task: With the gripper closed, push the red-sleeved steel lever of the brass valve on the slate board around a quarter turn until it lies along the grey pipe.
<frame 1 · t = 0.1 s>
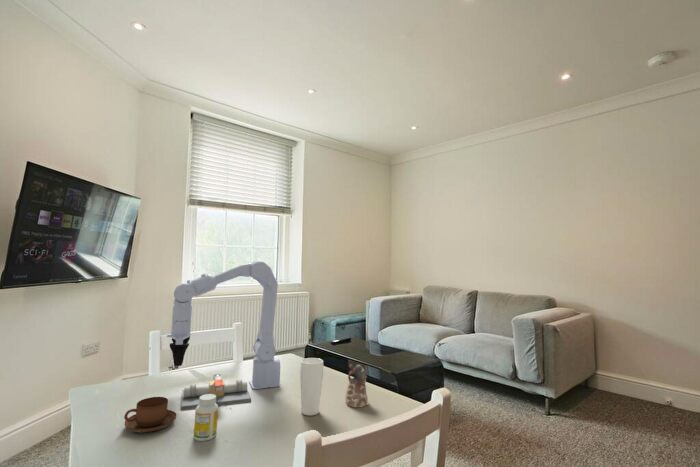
hand: (178, 362, 117), 10 cm above the table, tool pointing down, fingers open, 7 cm apart
supplement bottle: (205, 437, 90), on the table
cup and saucer: (150, 426, 95), on the table
figurine: (356, 404, 114), on the table
valve board: (215, 397, 115), on the table
drinking glass: (310, 413, 106), on the table
valve lever: (218, 382, 111), point 6 cm above the table, hinge at 0.0°
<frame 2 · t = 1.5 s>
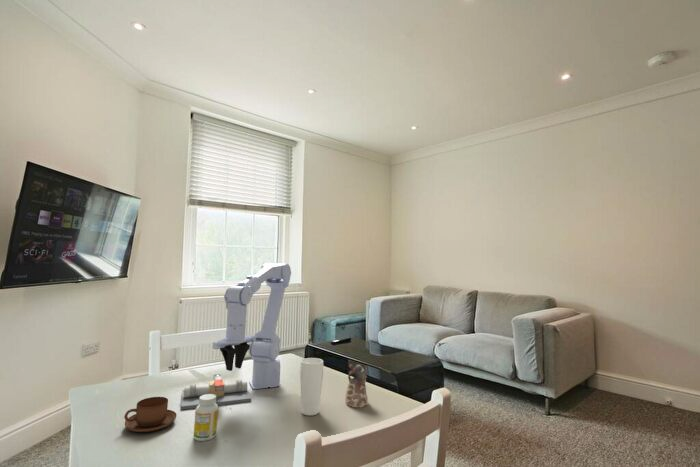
hand: (233, 368, 111), 10 cm above the table, tool pointing down, fingers open, 3 cm apart
nothing on the table moved.
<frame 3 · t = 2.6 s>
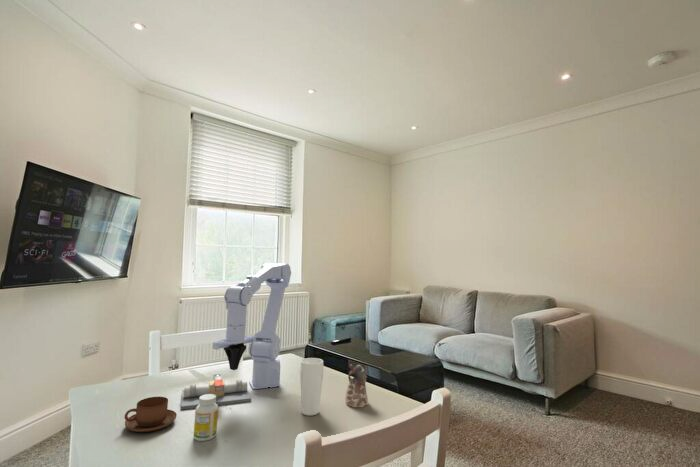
hand: (233, 369, 111), 10 cm above the table, tool pointing down, fingers closed
nothing on the table moved.
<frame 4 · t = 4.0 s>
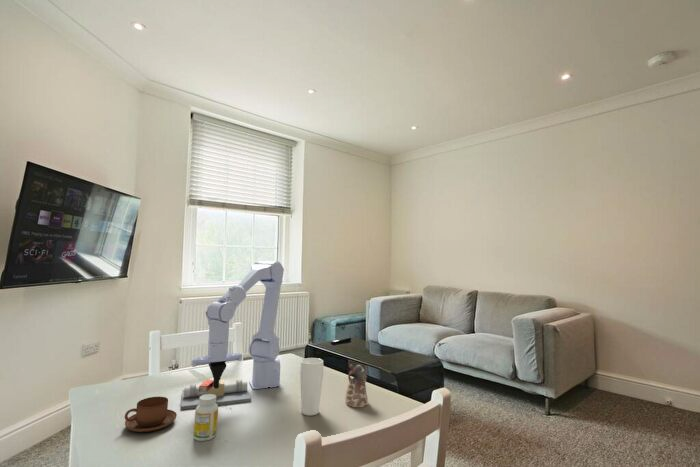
hand: (215, 387, 109), 5 cm above the table, tool pointing down, fingers closed, pressing on valve lever
valve lever: (211, 382, 111), point 6 cm above the table, hinge at 24.4°, touching gripper
everything else where it was.
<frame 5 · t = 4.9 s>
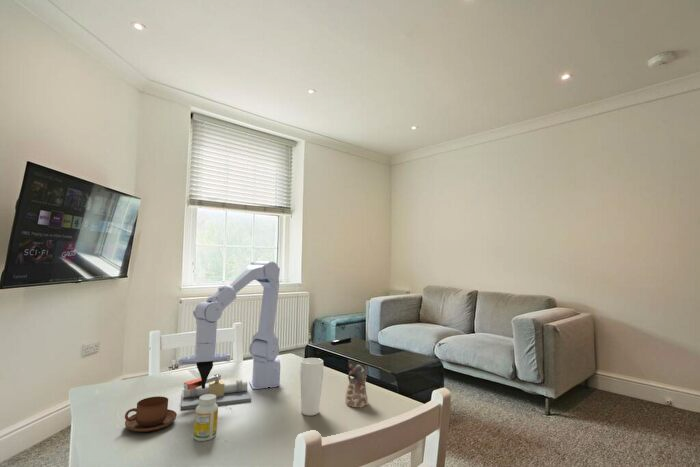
hand: (203, 387, 108), 5 cm above the table, tool pointing down, fingers closed, pressing on valve lever
valve lever: (203, 381, 111), point 6 cm above the table, hinge at 56.4°, touching gripper
everything else where it was.
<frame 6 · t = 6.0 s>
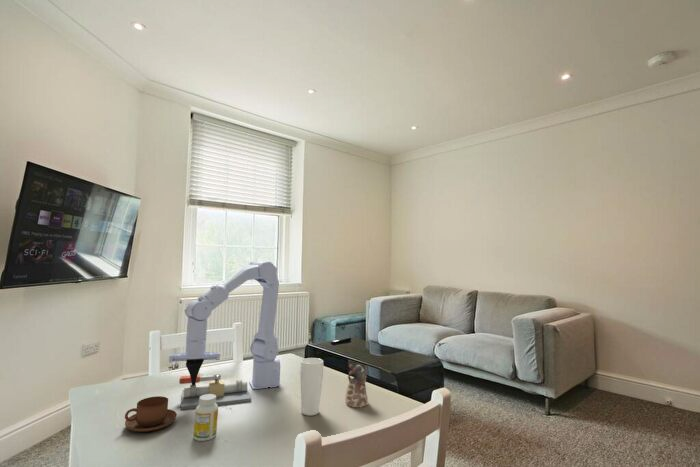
hand: (193, 384, 111), 5 cm above the table, tool pointing down, fingers closed, pressing on valve lever
valve lever: (200, 378, 114), point 6 cm above the table, hinge at 91.9°, touching gripper
everything else where it was.
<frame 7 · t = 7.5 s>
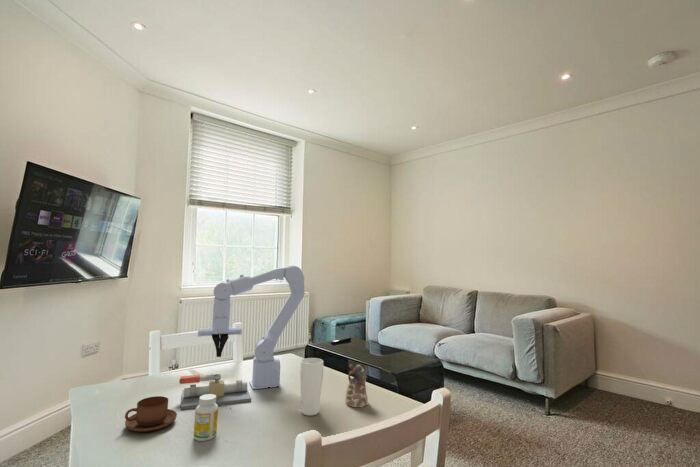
hand: (218, 356, 125), 10 cm above the table, tool pointing down, fingers closed
valve lever: (200, 378, 114), point 6 cm above the table, hinge at 92.0°
everything else where it was.
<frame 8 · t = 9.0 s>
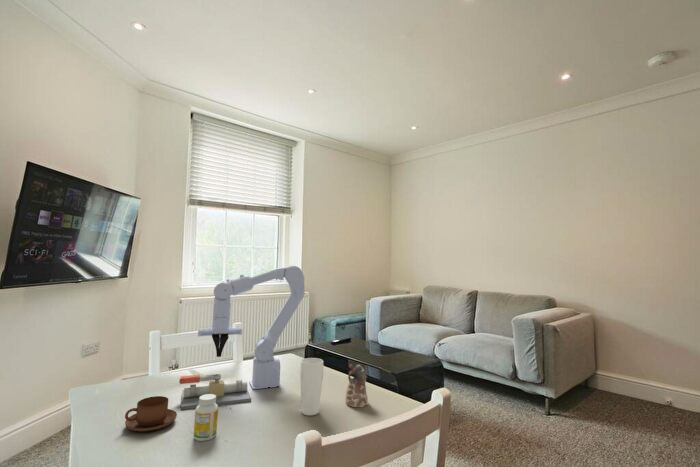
hand: (218, 356, 125), 10 cm above the table, tool pointing down, fingers closed
nothing on the table moved.
at the end: valve lever at +92° (first picture: +0°); supplement bottle moved 0.2 cm from its start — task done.
